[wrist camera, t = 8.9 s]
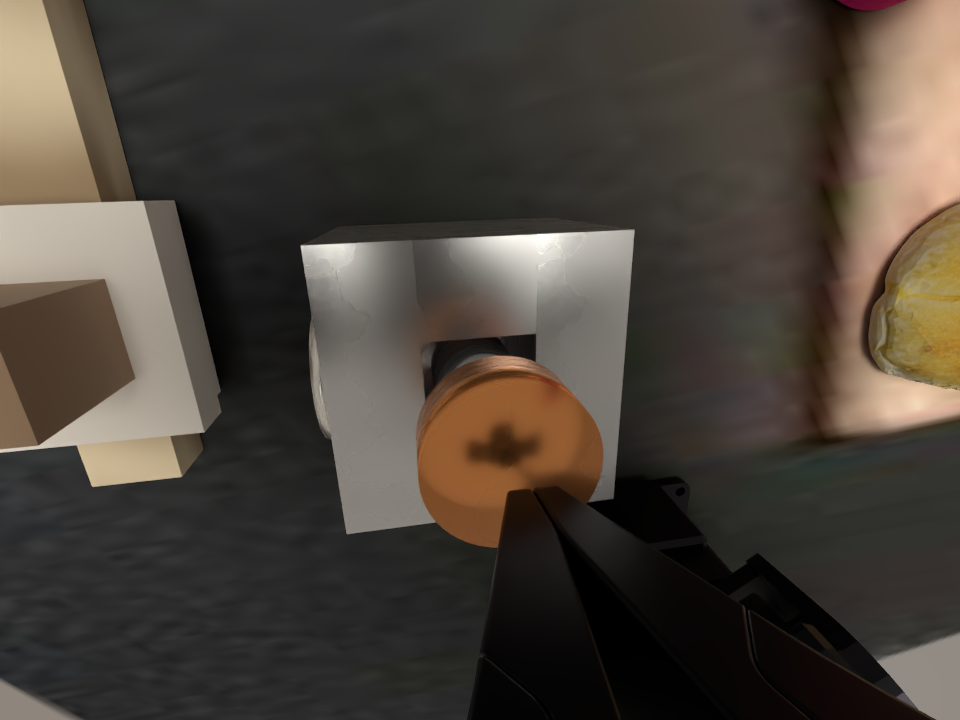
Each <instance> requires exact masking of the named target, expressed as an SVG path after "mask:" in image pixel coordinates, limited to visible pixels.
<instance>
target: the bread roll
mask: <svg viewBox="0 0 960 720" xmlns="http://www.w3.org/2000/svg"><path fill="white" fill-rule="evenodd" d="M885 286H886V289H885V293H884V294H883V295H882V296H881V297H880V298H879V299H878V300H877V301H876V303H875V304H874V306H873V308H872V312H871V317H870V325H869V333H868V339H869V347H870V351H871V355H872V357H873V359H874V360H875V362H876V363H877V365H878V366H879V368H880V369H881V370H882V371H883V372H884V373H886V374H889V375H894V376H898V377H902V378H905V379H908V380H913V381H916V382H924V383H926V384H930V385H935V386H939V387H942V388H945V389H947V388H952V389H956V390H960V204H958V205H956V206H953V207H951V208H949V209H948V210H946V211H944V212H943V213H941V214H940V215H938V216H937V217H935V218H933V219H932V220H930V221H929V222H927V223H926V224H925V225H923V226H922V227H921V228H919V229H918V230H917V231H915V232H914V233H913V234H912V235H911V237H910V238H909V239H908V240H907V241H906V243H905V244H904V245H903V246H902V247H901V249H900V250H899V252H898V253H897V255H896V256H895V258H894V260H893V261H892V263H891V265H890V267H889V269H888V272H887V275H886V278H885Z"/></svg>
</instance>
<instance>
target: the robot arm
mask: <svg viewBox="0 0 960 720" xmlns="http://www.w3.org/2000/svg"><path fill="white" fill-rule="evenodd" d="M678 488H680V489H679V490H678V491H676V490H677V489H678ZM689 492H690V487H689V486H688V484H687V483H686V482H685V481H684V480H682V479H670V480H662V481H652V482H644V483H637V484H629V485H621V486H614V499H608V500H600V501H593V502H588V503H587V504H585V503H584V502H582V501H580V500H579V499H577V498H576V497H574V496H573V495H571V494H570V493H568V492H566V491H565V490H563V489H562V488H560V487H558V486H556V485H551V486H543V487H536V488H534V489H533V490H531V489H528V488H527V489H519V490H511V491H509V492H508V493H507V496H506V502H505V507H504V513H503V519H502V525H501V531H500V537H499V543H498V549H497V555H496V561H495V567H494V573H493V579H492V584H491V590H490V596H489V602H488V608H487V614H486V620H485V626H484V632H483V638H482V644H481V650H480V658H479V660H478V665H477V671H476V677H475V683H474V689H473V694H472V698H471V703H470V708H469V713H468V718H467V720H936V719H934V718H932V717H930V716H928V715H927V714H925V713H923V712H921V711H919V710H918V709H917V708H916V706H915V705H914V704H913V703H912V701H910V699H909V698H908V697H907V695H906V694H905V693H904V692H903V690H902V689H901V688H900V687H899V686H898V685H897V684H896V682H895V681H894V680H893V679H892V678H891V676H890V675H889V674H888V673H887V672H886V671H885V670H884V669H883V668H882V667H881V665H880V664H879V663H878V662H877V661H876V660H875V659H874V658H873V657H872V656H871V655H870V654H869V653H868V651H867V650H866V649H865V648H864V647H863V646H862V645H861V644H860V643H859V642H858V641H857V640H856V639H855V638H854V637H853V636H852V635H851V634H850V633H849V632H848V631H847V630H846V629H845V628H844V627H843V626H841V625H840V624H839V623H838V622H837V621H836V620H835V619H834V618H833V617H831V616H830V615H829V614H828V613H827V612H826V611H824V610H823V609H822V608H821V607H820V606H819V605H817V604H816V603H815V602H814V601H813V600H812V599H811V598H809V597H808V596H807V595H806V594H805V593H804V592H802V591H801V590H800V589H799V588H798V587H797V586H795V585H794V584H793V583H792V582H791V581H790V580H788V579H787V578H786V577H785V576H784V575H783V574H781V573H780V572H779V571H778V570H777V569H776V568H774V567H773V566H772V565H771V564H770V563H769V562H767V561H766V560H765V559H764V558H763V557H762V556H760V555H759V554H758V553H757V554H755V555H754V556H752V557H751V558H749V559H748V560H746V562H747V564H745V565H744V566H742V567H741V568H739V569H738V570H736V571H735V572H733V573H732V572H731V571H730V569H729V568H728V567H727V566H726V565H725V564H724V563H723V561H722V560H721V559H720V558H719V557H718V556H717V555H716V553H715V552H714V551H713V550H712V549H711V548H710V547H709V546H708V544H707V538H706V537H705V536H704V534H703V533H702V532H701V531H700V530H699V529H698V528H697V527H696V526H695V524H694V523H693V522H692V521H691V520H690V519H689V518H688V517H687V515H686V513H687V506H688V499H689Z"/></svg>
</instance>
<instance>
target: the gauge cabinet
mask: <svg viewBox="0 0 960 720" xmlns="http://www.w3.org/2000/svg"><path fill="white" fill-rule="evenodd" d="M633 243H634V230H633V229H627V228H620V227H613V226H606V225H599V224H593V223H586V222H579V221H572V220H565V219H559V218H552V217H545V218H522V219H498V220H475V221H452V222H428V223H405V224H382V225H358V226H339V227H337V228H335V229H333V230H331V231H329V232H327V233H325V234H323V235H321V236H319V237H317V238H315V239H313V240H311V241H309V242H307V243H305V244H303V245H301V252H302V258H303V265H304V271H305V277H306V283H307V290H308V296H309V302H310V308H311V315H312V318H311V323H310V332H309V364H310V378H311V387H312V394H313V401H314V406H315V411H316V415H317V419H318V422H319V426H320V428H321V431H322V433H323V435H324V436H325V438H326V439H332V446H333V452H334V458H335V464H336V471H337V477H338V483H339V489H340V496H341V502H342V508H343V514H344V520H345V527H346V533H347V534H352V533H359V532H367V531H375V530H382V529H390V528H397V527H405V526H412V525H420V524H427V523H435V522H436V521H435V520H434V519H433V518H432V516H431V515H430V513H429V512H428V510H427V508H426V506H425V504H424V502H423V500H422V497H421V494H420V489H419V483H418V467H417V451H416V427H417V421H418V417H419V414H420V411H421V409H422V406H423V404H424V402H425V401H426V399H427V397H428V396H429V394H430V393H431V391H432V390H433V389H434V388H435V387H434V382H433V376H432V370H431V360H432V355H433V352H434V350H435V348H436V346H437V344H438V343H439V342H440V341H448V340H461V339H473V338H486V337H498V338H499V339H500V340H501V342H502V343H503V345H504V346H505V348H506V349H507V350H508V352H509V353H510V355H511V356H514V357H521V358H525V359H529V360H531V361H534V362H537V363H539V364H541V365H542V366H544V367H546V368H548V369H549V370H550V371H552V372H553V373H554V374H555V375H556V376H557V377H558V378H559V379H560V380H561V381H562V382H563V383H564V384H565V385H566V387H567V388H568V389H569V390H570V391H571V392H572V393H573V395H574V396H575V397H576V398H577V399H578V400H579V402H580V403H581V404H582V405H583V406H584V407H585V408H586V410H587V411H588V412H589V414H590V415H591V416H592V418H593V419H594V421H595V423H596V425H597V427H598V429H599V432H600V435H601V438H602V444H603V466H602V472H601V476H600V479H599V482H598V484H597V487H596V489H595V491H594V493H593V495H592V496H591V498H590V500H589V501H588V502H593V501H600V500H608V499H614V486H615V473H616V460H617V448H618V435H619V422H620V409H621V396H622V384H623V371H624V358H625V345H626V332H627V320H628V307H629V294H630V281H631V268H632V256H633Z"/></svg>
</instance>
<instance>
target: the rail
mask: <svg viewBox="0 0 960 720" xmlns="http://www.w3.org/2000/svg"><path fill="white" fill-rule="evenodd" d="M125 201H137V200H136V196H135V192H134V188H133V185H132V181H131V177H130V174H129V170H128V166H127V162H126V159H125V155H124V151H123V148H122V144H121V140H120V136H119V133H118V129H117V125H116V122H115V118H114V114H113V110H112V107H111V103H110V99H109V95H108V92H107V88H106V84H105V81H104V77H103V73H102V69H101V66H100V62H99V58H98V55H97V51H96V47H95V43H94V40H93V36H92V32H91V29H90V25H89V21H88V17H87V14H86V10H85V6H84V2H83V0H0V206H6V205H35V204H65V203H95V202H125ZM77 447H78V450H79V453H80V455H81V458H82V461H83V463H84V466H85V469H86V471H87V474H88V477H89V479H90V482H91V485H92V487H96V486H105V485H114V484H123V483H132V482H141V481H150V480H159V479H168V478H177V477H182V476H183V475H184V474H185V473H186V471H187V470H188V469H189V467H190V466H191V465H192V464H193V462H194V461H195V460H196V458H197V457H198V456H199V455H200V453H201V452H202V451H203V445H202V441H201V438H200V434H199V433H194V434H184V435H174V436H163V437H153V438H143V439H133V440H123V441H113V442H103V443H93V444H83V445H77Z"/></svg>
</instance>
